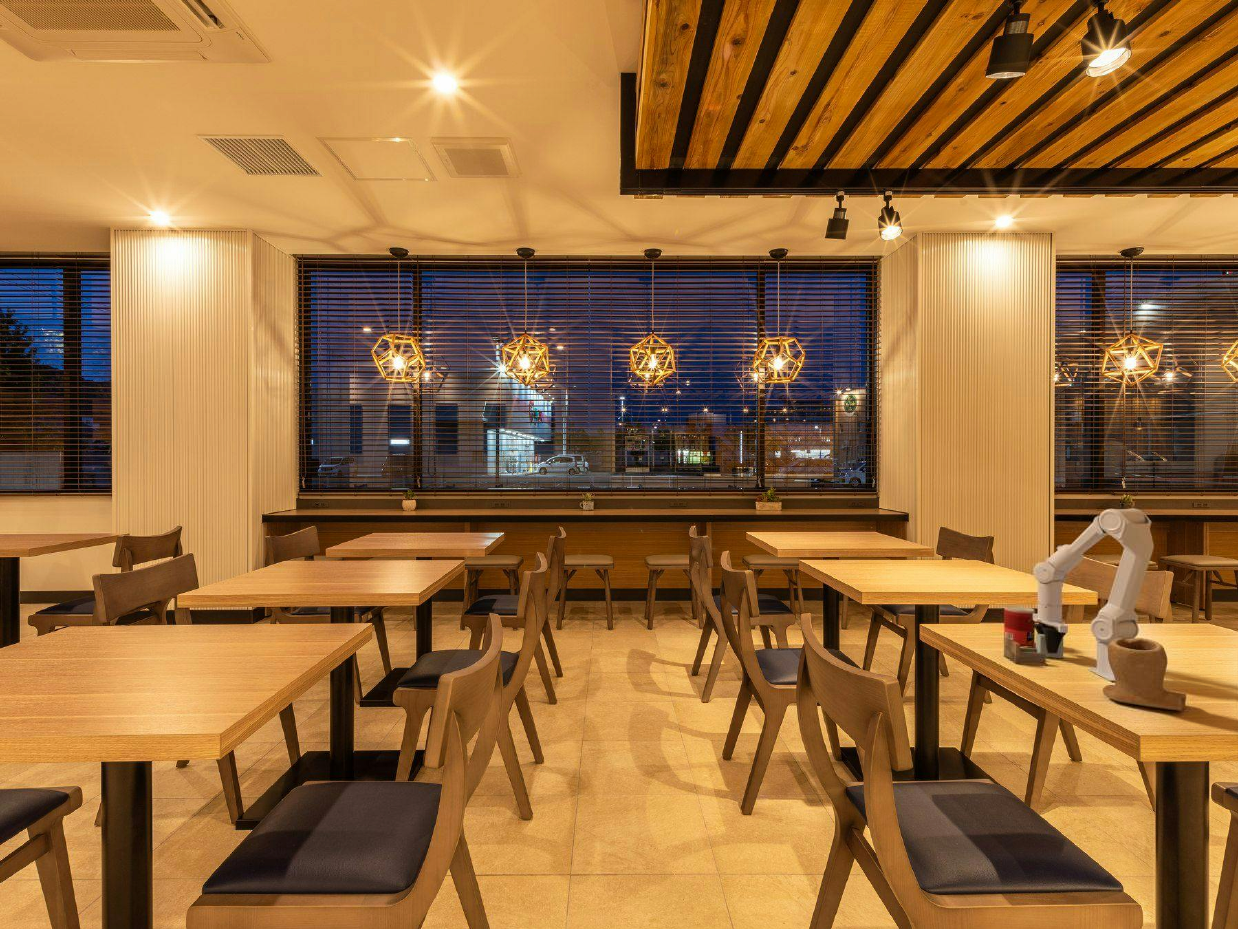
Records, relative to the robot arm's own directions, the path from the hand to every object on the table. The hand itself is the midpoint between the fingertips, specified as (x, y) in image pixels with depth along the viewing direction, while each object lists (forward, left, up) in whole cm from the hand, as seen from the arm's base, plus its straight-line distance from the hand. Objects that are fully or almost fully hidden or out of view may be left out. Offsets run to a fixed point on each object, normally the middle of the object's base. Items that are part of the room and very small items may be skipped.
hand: (1049, 651), depth 176 cm
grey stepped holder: (-5, +9, -2) cm, 11 cm away
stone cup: (-36, -2, -2) cm, 36 cm away
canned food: (+13, +2, -2) cm, 13 cm away
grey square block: (0, 0, -2) cm, 2 cm away
